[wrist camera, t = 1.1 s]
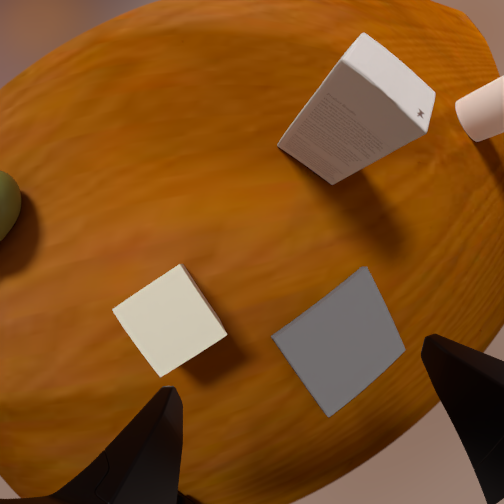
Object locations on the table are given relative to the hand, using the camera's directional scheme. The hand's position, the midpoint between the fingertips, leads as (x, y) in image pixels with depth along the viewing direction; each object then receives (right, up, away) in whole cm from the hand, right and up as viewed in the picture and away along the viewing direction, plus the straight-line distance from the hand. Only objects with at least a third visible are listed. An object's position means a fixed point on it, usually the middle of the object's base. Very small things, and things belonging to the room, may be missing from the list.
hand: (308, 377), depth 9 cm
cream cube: (-8, 0, +12) cm, 14 cm away
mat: (+6, -4, +15) cm, 16 cm away
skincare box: (+4, +13, +15) cm, 20 cm away
